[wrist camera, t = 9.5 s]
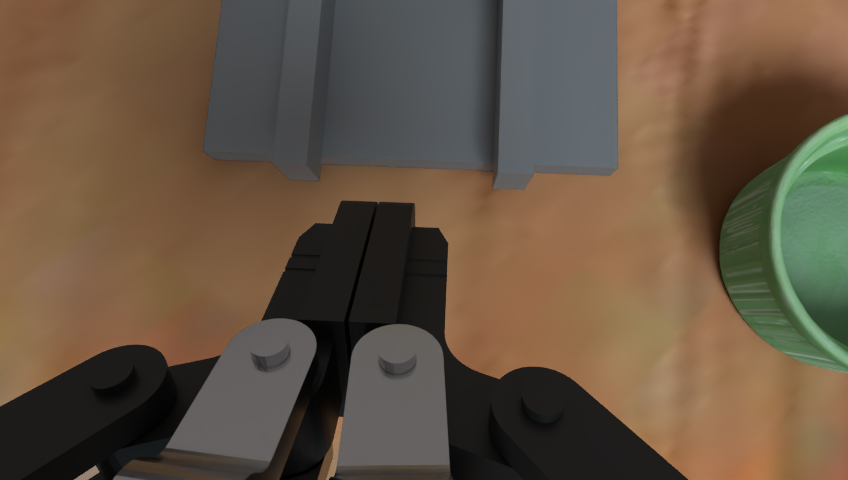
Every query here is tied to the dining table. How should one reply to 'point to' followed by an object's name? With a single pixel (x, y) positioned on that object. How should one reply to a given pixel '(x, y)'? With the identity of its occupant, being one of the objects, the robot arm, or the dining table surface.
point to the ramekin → (794, 250)
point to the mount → (417, 86)
